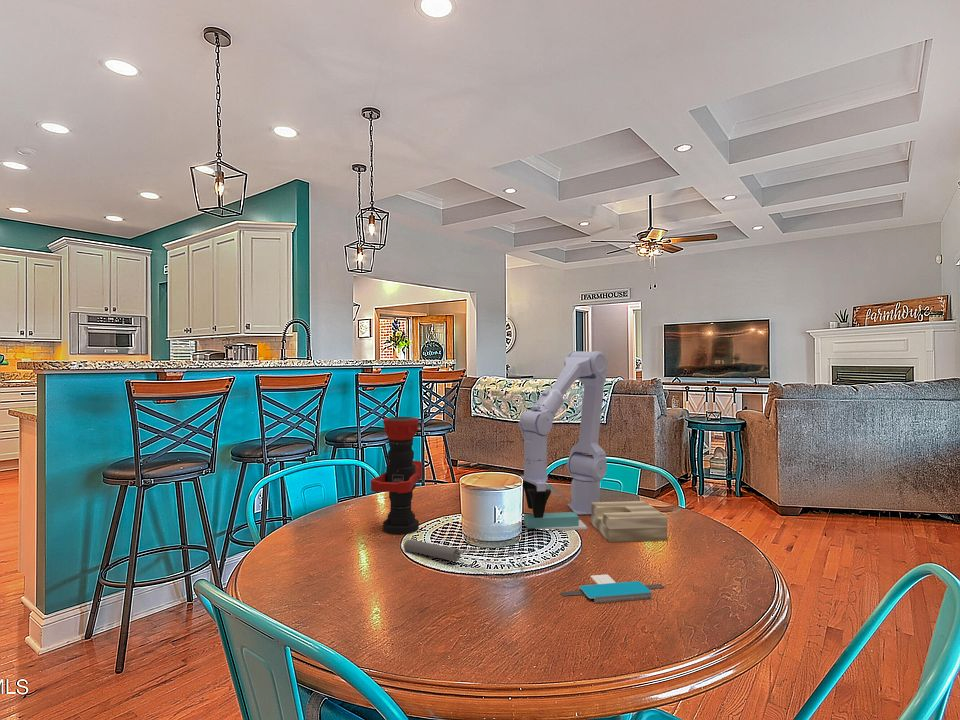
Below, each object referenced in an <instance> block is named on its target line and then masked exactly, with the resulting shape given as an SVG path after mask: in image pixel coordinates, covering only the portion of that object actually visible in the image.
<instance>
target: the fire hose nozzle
mask: <svg viewBox="0 0 960 720" xmlns="http://www.w3.org/2000/svg"><path fill="white" fill-rule="evenodd" d="M382 421H383V423H382V424H383V427H384V429H383V430H384V432H385V435H386V436H387V438H388V446H389V450H387V451H388V452H387V460H388V465H387V466H386V467H385V472H383V473H382V474H380V475H378V476H376V477H373V478H371V479H370V491H371V492H374V493H380V492H383V493H387V492H388V499H389V501H390V511H389V512H388V514H387V518H386V519H385V520H384V521H383V522H382V532H384V533H386V534H390V535H400V536H401V535H409V534H412V533H414V532H415V533H416V532H417V531H418V530H419V528H420V527H419V525H420V524H419V523H420V521H419V519H417V518H416V514H415V513H414V512H413V511H412V500H413V497H414V494H413V490H414V489H416V488H417V487H416V484H417V483H418V482H419V481H420V480H422V479H423V464H422V463H423V462H422V461H420V460H414V458H415V452H414V450H413V445H414V438H415V435H416V433H417V432H418V428H419V427H418V426H419V425H418V424H419V418H418V417H413V416H412V417H410V416H392V417H385V418H383V419H382Z"/></svg>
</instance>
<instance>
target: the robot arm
mask: <svg viewBox="0 0 960 720" xmlns="http://www.w3.org/2000/svg"><path fill="white" fill-rule="evenodd" d="M563 366H564V367H563V369H562V371H561V372H560V374H559V375H558V376H557V378H556V380H555V381H554V384H553V385H552V387H551V388H545V389H544V390H543V391H542V392H541V395H540V396H539V398H538V399H537V401H535V403H534V404H533V406H532V407H531V408H530V409H529V410H526V411H524V412H523V414H521V416H520V420H519V422H518V427H519V430H520V432H521V438H522V439H523V444H524V445H523V475H519V476H518V477H521V478H522V479H523V485H522V487H523V490H524V495H525V499H526V504H527V509H530V510H532V514H533V515H534V518H543V515H544V513H545V511H546V505H547V502H548V499H549V498H550V496H551V493H552V489H550V488H549V489H546V488H547V487H546V484H547V482H548V479H549V477H548V434H549V433H550V432H551V431H552V427H553V422H554V420H555V415H556V414H557V413H558V411H559V410H560V409H561V407H562V405H563V404H564V402H565V401H564V397H563V396H564V395H565V394H566V393H567V391H569V389H570V388H571V387H572V385H574V383H575V382H576V381H577V380H578V381H580V382H581V384H582V385H583V393H582V394H583V396H582V406H581V413H580V424H579V433H578V435H579V436H578V441H577V443H575V444H574V445H573V446H572V447H571V448H570V452H569V457H568V458H567V462H566V467H567V471H568V472H569V474H570V475H571V477H570V478H572V480H571V481H570V482H571V483H570V503H567V506H568V508H569V509H571V511H572V512H574V513H575V514H576V515H577V516H579V515H580V516H581V515H591V502H601V480H603V478H604V477H605V476H606V473H607V470H608V464H607V458H606V457H607V453H606V451H605V450H604V449H603V448H602V447H601V446H600V445H599V439H600V437H599V436H600V427H601V418H602V417H601V416H602V409H603V408H602V407H603V399H604V397H603V396H604V389H605V382H606V380H607V371H608V360H607V358H606V356H605V354H604V353H603V352H602V351H601V350H595V351H585V350H584V351H579V350H578V351H577V350H571V351H569V352H568V353H567V356H566V357H565V358H564V359H563Z"/></svg>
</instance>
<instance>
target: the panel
mask: <svg viewBox="0 0 960 720" xmlns="http://www.w3.org/2000/svg"><path fill="white" fill-rule="evenodd" d="M535 529H559V530H558V531H580V530H584V531H586V530H588V526H587V525H586V524H585V523H584V522H583V521H582V520H581V519H579V526H573V527H550V528H535Z"/></svg>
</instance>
